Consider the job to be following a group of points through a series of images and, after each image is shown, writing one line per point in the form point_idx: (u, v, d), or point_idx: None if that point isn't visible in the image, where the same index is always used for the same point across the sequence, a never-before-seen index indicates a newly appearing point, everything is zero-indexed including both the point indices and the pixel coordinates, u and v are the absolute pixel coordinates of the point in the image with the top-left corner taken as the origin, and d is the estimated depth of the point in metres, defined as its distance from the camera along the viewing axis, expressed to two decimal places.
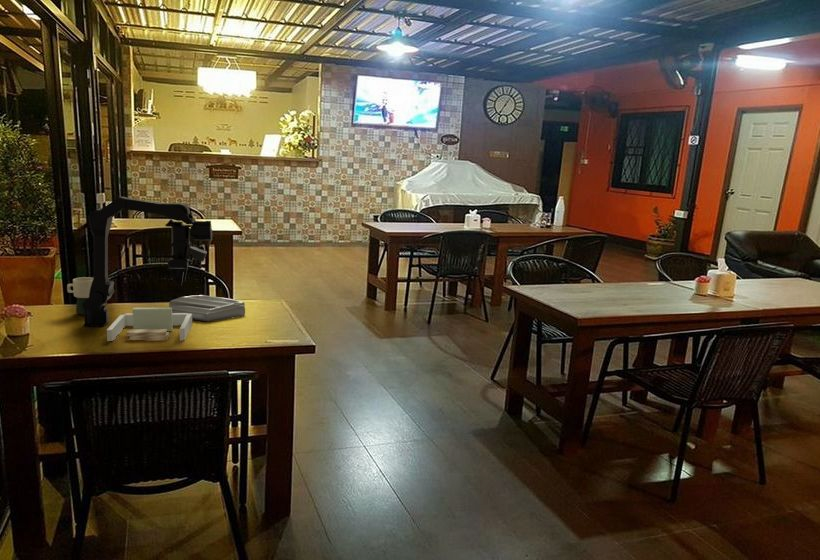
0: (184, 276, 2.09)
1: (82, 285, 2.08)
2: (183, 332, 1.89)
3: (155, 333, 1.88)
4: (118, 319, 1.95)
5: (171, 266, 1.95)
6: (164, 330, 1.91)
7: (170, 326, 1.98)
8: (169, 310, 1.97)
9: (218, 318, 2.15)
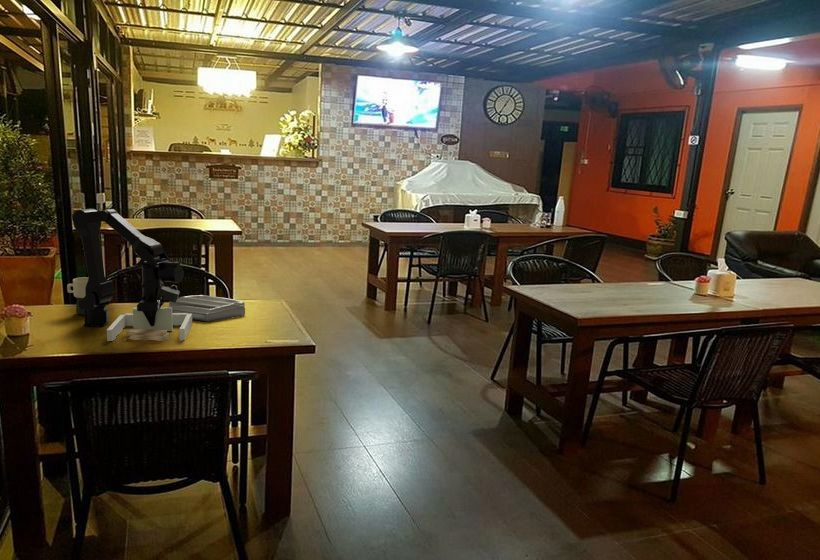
0: None
1: (82, 285, 2.08)
2: (183, 332, 1.89)
3: (154, 333, 1.88)
4: (118, 319, 1.95)
5: (140, 309, 1.87)
6: (163, 331, 1.90)
7: (170, 326, 1.98)
8: (169, 310, 1.97)
9: (218, 318, 2.15)
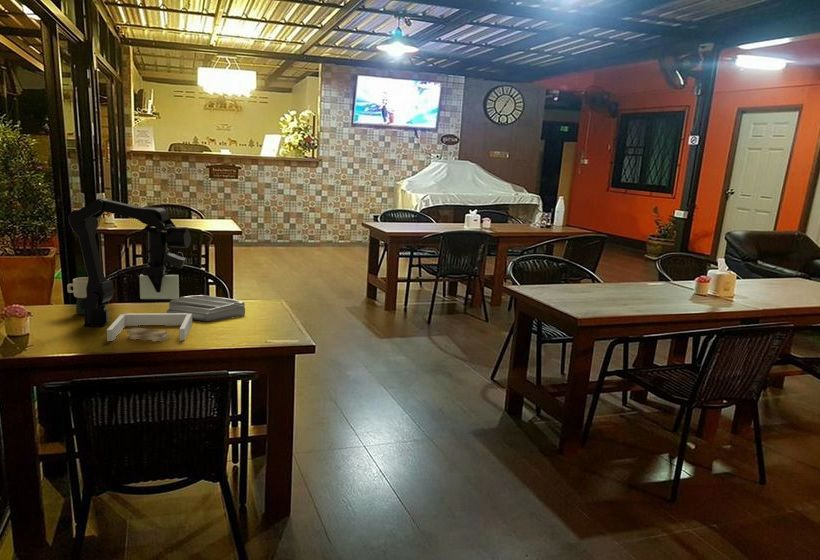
0: None
1: (82, 285, 2.08)
2: (183, 332, 1.89)
3: (152, 334, 1.87)
4: (118, 319, 1.95)
5: (146, 274, 1.88)
6: (162, 331, 1.89)
7: (176, 293, 1.99)
8: (175, 277, 1.98)
9: (218, 318, 2.15)
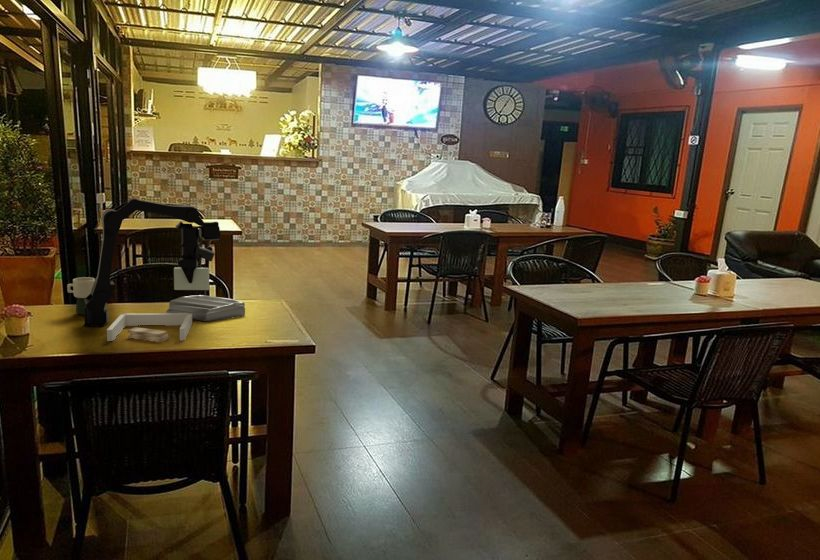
0: None
1: (82, 285, 2.08)
2: (183, 332, 1.89)
3: (151, 334, 1.87)
4: (118, 319, 1.95)
5: (181, 266, 2.05)
6: (161, 332, 1.89)
7: (207, 285, 2.16)
8: (207, 270, 2.15)
9: (218, 318, 2.15)
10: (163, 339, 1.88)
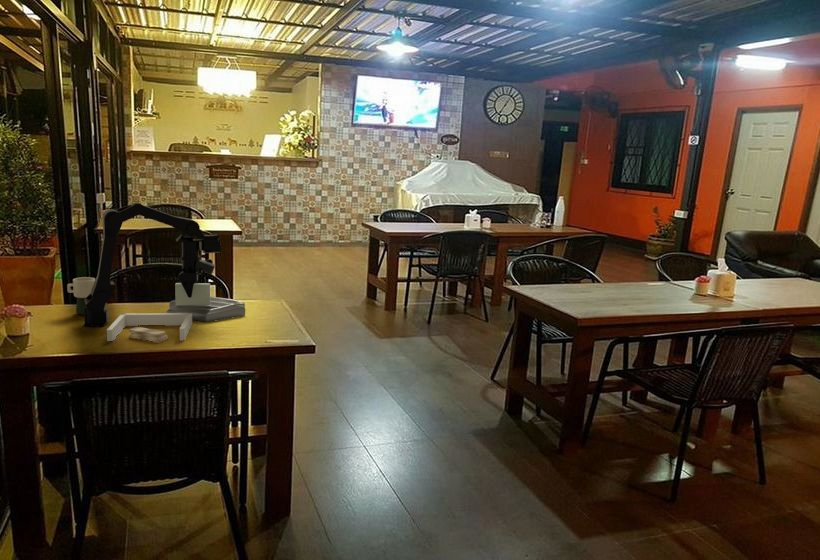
0: None
1: (82, 285, 2.08)
2: (183, 332, 1.89)
3: (150, 334, 1.87)
4: (118, 319, 1.95)
5: (182, 279, 2.06)
6: (160, 332, 1.88)
7: (208, 300, 2.18)
8: (208, 285, 2.17)
9: (218, 318, 2.15)
10: (161, 340, 1.87)
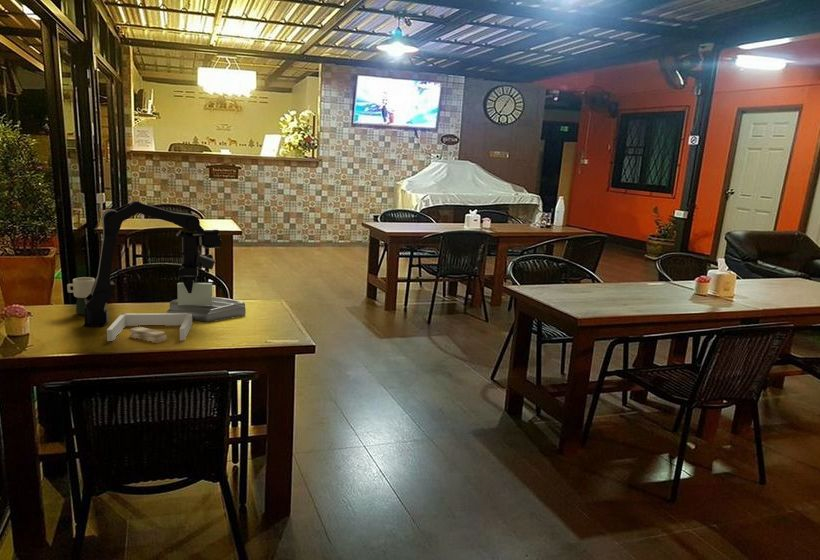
0: None
1: (82, 285, 2.08)
2: (183, 332, 1.89)
3: (149, 334, 1.87)
4: (118, 319, 1.95)
5: (182, 274, 2.06)
6: (159, 333, 1.88)
7: (210, 300, 2.19)
8: (210, 285, 2.18)
9: (218, 318, 2.15)
10: (160, 340, 1.87)
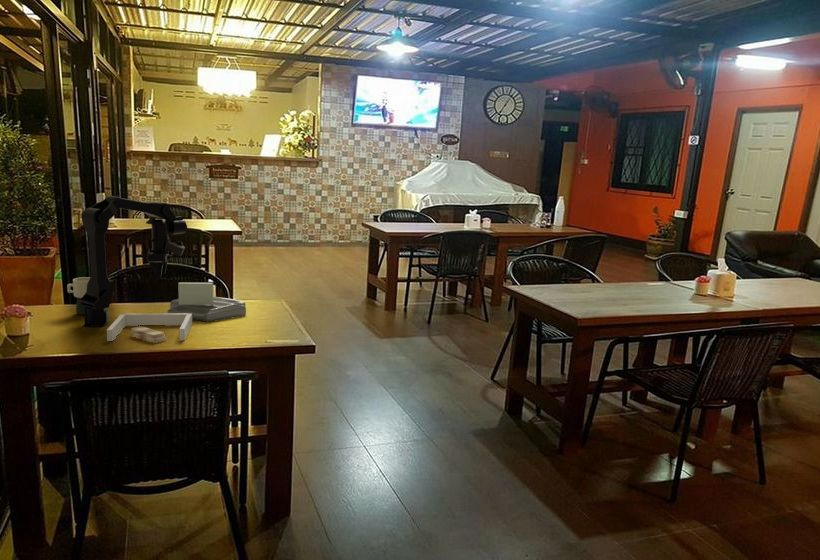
0: (164, 269, 2.27)
1: (82, 285, 2.08)
2: (183, 332, 1.89)
3: (148, 334, 1.87)
4: (118, 319, 1.95)
5: (150, 260, 2.12)
6: (158, 333, 1.87)
7: (211, 299, 2.19)
8: (210, 285, 2.18)
9: (219, 318, 2.15)
10: (159, 340, 1.87)
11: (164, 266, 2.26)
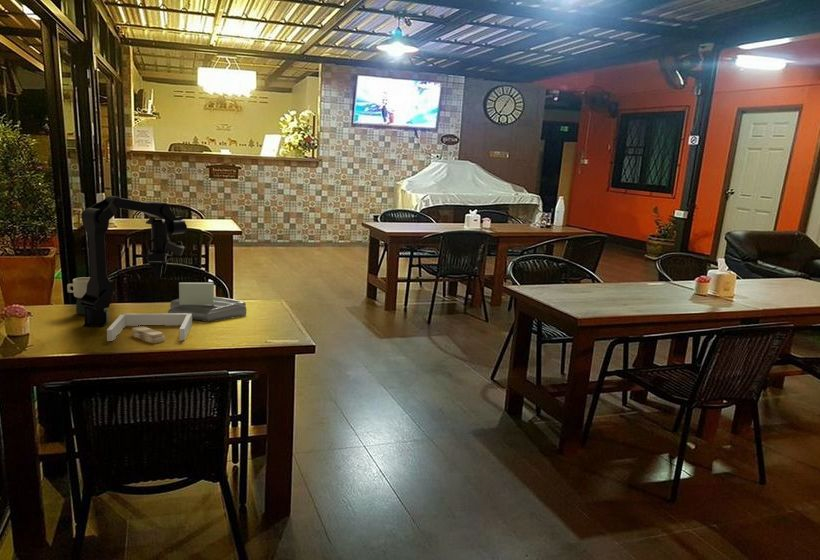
0: (164, 269, 2.27)
1: (82, 285, 2.08)
2: (183, 332, 1.89)
3: (147, 334, 1.87)
4: (118, 319, 1.95)
5: (150, 260, 2.12)
6: (157, 333, 1.87)
7: (212, 299, 2.19)
8: (211, 285, 2.18)
9: (219, 318, 2.15)
10: (157, 341, 1.86)
11: (164, 266, 2.26)
